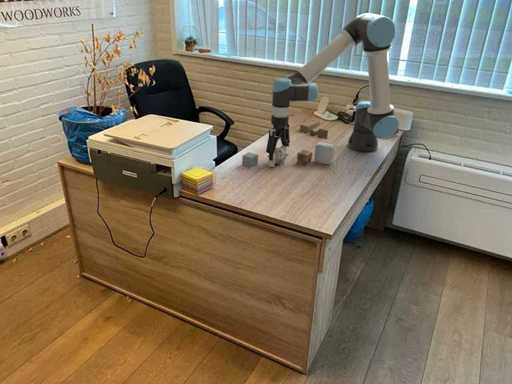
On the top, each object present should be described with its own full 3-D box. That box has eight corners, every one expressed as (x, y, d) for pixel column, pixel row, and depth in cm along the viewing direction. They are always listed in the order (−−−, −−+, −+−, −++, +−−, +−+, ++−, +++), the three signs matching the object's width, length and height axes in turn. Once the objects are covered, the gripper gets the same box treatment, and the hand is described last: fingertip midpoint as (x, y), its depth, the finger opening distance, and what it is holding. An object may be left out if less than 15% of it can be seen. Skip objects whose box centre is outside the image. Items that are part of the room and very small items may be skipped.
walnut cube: (311, 162, 201) (312, 152, 198) (306, 165, 197) (307, 155, 195) (301, 159, 203) (302, 149, 201) (296, 163, 199) (297, 152, 197)
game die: (280, 172, 198) (286, 161, 189) (263, 164, 198) (268, 153, 189) (286, 157, 202) (292, 146, 194) (270, 150, 202) (275, 138, 194)
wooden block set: (299, 123, 236) (315, 115, 249) (298, 133, 238) (314, 125, 251) (327, 129, 227) (342, 121, 240) (326, 139, 229) (341, 131, 243)
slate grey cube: (257, 164, 196) (258, 154, 194) (251, 168, 192) (251, 158, 190) (248, 162, 198) (248, 152, 196) (242, 165, 194) (242, 155, 192)
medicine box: (333, 162, 201) (335, 144, 197) (330, 165, 198) (332, 147, 194) (316, 158, 204) (318, 141, 200) (313, 162, 201) (315, 144, 197)
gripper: (285, 108, 197) (282, 153, 207) (258, 119, 181) (257, 168, 191) (300, 111, 194) (296, 157, 204) (274, 123, 177) (271, 172, 187)
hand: (277, 162), depth 197 cm, fingers closed on game die, 9 cm apart
